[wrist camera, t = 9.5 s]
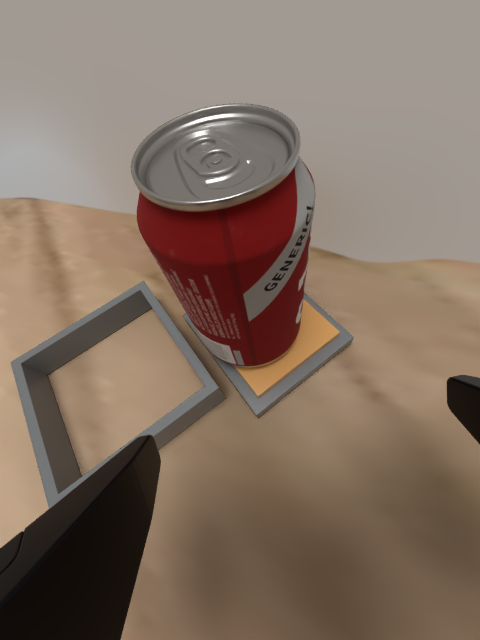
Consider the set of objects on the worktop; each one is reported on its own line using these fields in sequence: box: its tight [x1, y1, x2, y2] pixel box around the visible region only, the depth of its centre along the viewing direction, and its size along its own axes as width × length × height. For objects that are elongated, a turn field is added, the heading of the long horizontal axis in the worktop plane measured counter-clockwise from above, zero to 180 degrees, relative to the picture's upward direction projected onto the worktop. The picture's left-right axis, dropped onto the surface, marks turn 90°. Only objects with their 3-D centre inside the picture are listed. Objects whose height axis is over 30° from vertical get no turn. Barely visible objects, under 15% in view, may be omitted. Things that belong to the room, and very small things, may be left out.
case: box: [11, 281, 226, 509], centre depth 19 cm, size 11×11×2 cm
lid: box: [183, 293, 354, 418], centre depth 20 cm, size 9×8×2 cm
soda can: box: [131, 104, 315, 367], centre depth 14 cm, size 7×7×12 cm
